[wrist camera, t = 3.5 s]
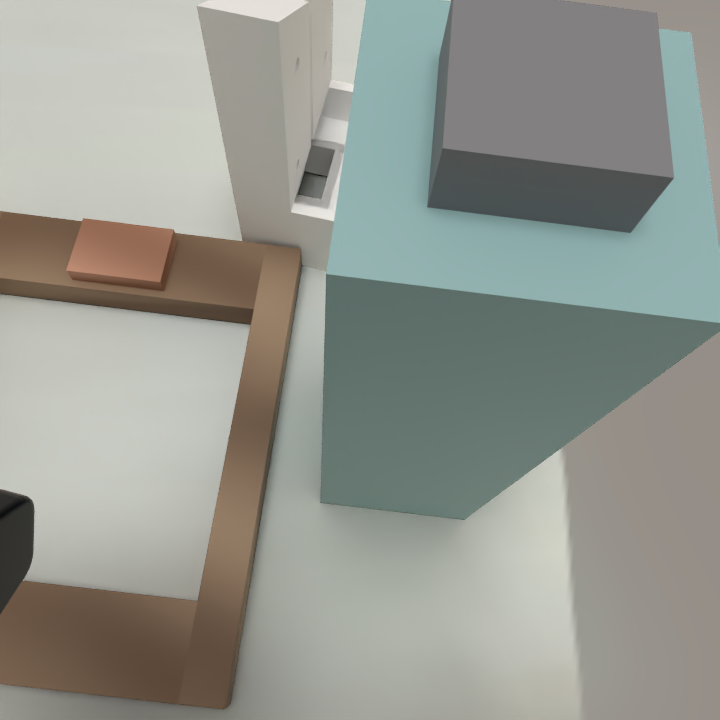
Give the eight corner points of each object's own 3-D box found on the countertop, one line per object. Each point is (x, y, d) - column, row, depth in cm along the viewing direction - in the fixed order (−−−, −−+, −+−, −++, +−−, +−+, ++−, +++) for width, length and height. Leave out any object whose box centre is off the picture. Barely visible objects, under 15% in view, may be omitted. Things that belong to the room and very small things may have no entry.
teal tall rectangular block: (463, 519, 20) (790, 279, 6) (320, 502, 20) (327, 220, 6) (469, 385, 22) (735, -37, 8) (337, 369, 22) (373, -84, 8)
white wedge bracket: (196, 329, 19) (196, 5, 14) (279, 200, 27) (299, -37, 22) (315, 355, 19) (360, 39, 14) (363, 218, 27) (403, -16, 22)
